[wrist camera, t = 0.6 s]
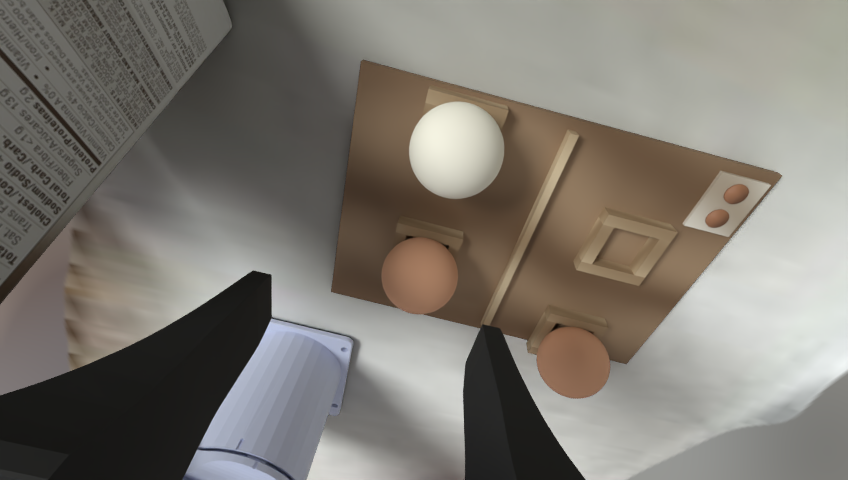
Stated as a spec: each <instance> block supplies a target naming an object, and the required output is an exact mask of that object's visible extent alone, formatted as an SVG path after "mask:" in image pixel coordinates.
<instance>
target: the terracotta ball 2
mask: <svg viewBox="0 0 848 480" xmlns="http://www.w3.org/2000/svg"><path fill="white" fill-rule="evenodd" d="M537 366H538V370H539V373H540V375H541V377H542V379H543V380H544V382H545V383H546V384H547V385H548V386H549V387H550V388H551V389H552V390H553V391H555V392H557V393H558V394H560V395H562V396H565V397H569V398H577V399H578V398H586V397H589V396H592V395H594V394H595V393H597V392H598V391H599V390H601V389H602V387H603V386H604V385H605V383H606V381H607V379H608V377H609V373H610V360H609V356H608V353H607V351H606V348H605V347H604V345H603V344H602V342H601V341H600V340H599V339H598V338H597V337H596V336H594V335H593V334H592V333H590V332H588V331H586V330H584V329H581V328H577V327H561V328H558V329H555V330H553V331H552V332H550V333H549V334H548V335H546V336H545V338H544V339H543V340H542V341H541V343H540V345H539V348H538V352H537Z"/></svg>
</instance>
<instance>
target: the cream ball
mask: <svg viewBox="0 0 848 480" xmlns="http://www.w3.org/2000/svg"><path fill="white" fill-rule="evenodd" d="M409 157H410V163H411V167H412V169H413V172H414V174H415V175H416V177H417V179H418V180H419V181H420V183H421V184H422V185H423V186H424V187H425V188H427V189H428V190H429V191H431V192H432V193H434V194H436V195H438V196H441V197H444V198H449V199H462V198H467V197H471V196H473V195H476V194H478V193H480V192H481V191H483V190H484V189H485V188H487V187H488V186H489V185H490V184H491V183H492V182H493V180H494V179H495V178H496V176H497V175H498V173H499V171H500V168H501V166H502V162H503V158H504V140H503V136H502V133H501V131H500V128H499V126H498V125H497V123H496V121H495V120H494V119H493V118H492V116H491V115H490V114H488V113H487V112H486V111H485V110H483V109H482V108H480V107H478V106H476V105H474V104H471V103H467V102H449V103H444V104H442V105H439V106H437V107H435V108H433V109H431V110H430V111H429V112H427V113H426V114H425V115H424V116H423V117H422V118H421V119H420V121H419V122H418V124H417V125H416V127H415V128H414V131H413V133H412V136H411V139H410V145H409Z"/></svg>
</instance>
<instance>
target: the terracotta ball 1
mask: <svg viewBox="0 0 848 480" xmlns="http://www.w3.org/2000/svg"><path fill="white" fill-rule="evenodd" d="M381 277H382V285H383V288H384V291H385V293H386V295H387V297H388V298H389V299H390V301H391V302H392V303H393V304H394V305H395V306H397V307H398V308H400V309H401V310H403V311H406V312H408V313H412V314H427V313H431V312H434V311H436V310H438V309H440V308H441V307H443V306H444V305H445V304H446V303H447V302H448V301H449V300H450V299H451V297H452V296H453V294H454V292H455V289H456V286H457V282H458V269H457V265H456V262H455V260H454V258H453V256H452V254H451V253H450V252H449V250H448V249H447V248H446V247H445V246H443V245H442V244H441V243H439V242H437V241H435V240H432V239H429V238H423V237H416V238H410V239H407V240H405V241H402V242H401V243H399V244H397V245H396V246H395V247H394V248H393V249H392V250H391V251H390V252H389V254H388V255H387V257H386V259H385V261H384V263H383V267H382V273H381Z"/></svg>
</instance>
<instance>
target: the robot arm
mask: <svg viewBox="0 0 848 480" xmlns="http://www.w3.org/2000/svg"><path fill="white" fill-rule="evenodd" d="M271 318H272V303H271V275H270V274H266V273H261V272H257V271H252V272H250V273H249V274H247V275H246V276H244V277H243V278H241V279H240V280H238V281H237V282H235V283H234V284H233V285H231V286H230V287H228V288H227V289H225V290H224V291H222V292H221V293H219V294H218V295H217V296H215V297H213V298H212V299H210V300H209V301H207V302H206V303H204V304H203V305H201V306H200V307H198V308H197V309H195V310H193V311H192V312H190V313H188V314H187V315H185V316H183V317H182V318H180V319H178V320H177V321H175V322H173V323H172V324H170V325H168V326H166V327H165V328H163V329H161V330H159V331H157V332H156V333H154V334H152V335H150V336H148V337H146V338H144V339H142V340H140V341H138V342H136V343H134V344H132V345H130V346H128V347H126V348H124V349H122V350H119V351H117V352H115V353H113V354H110V355H108V356H106V357H103V358H101V359H99V360H97V361H94V362H92V363H90V364H87V365H85V366H83V367H80V368H77V369H75V370H72V371H70V372H67V373H65V374H62V375H59V376H57V377H54V378H51V379H49V380H46V381H43V382H40V383H37V384H35V385H31V386H28V387H26V388H23V389H19V390H16V391H13V392H10V393H7V394H4V395H0V480H307V477H308V474H309V471H310V468H311V465H312V462H313V459H314V456H315V453H316V450H317V447H318V444H319V441H320V438H321V435H322V432H323V429H324V426H325V423H326V420H327V417H328V414H329V415H333V416H336V415H339V413H340V410H341V404H342V399H343V394H344V389H345V384H346V379H347V373H348V368H349V363H350V358H351V353H352V347H353V340H352V339H351V338H349V337H346V336H342V335H338V334H334V333H329V332H325V331H321V330H317V329H313V328H309V327H304V326H300V325H296V324H292V323H288V322H284V321H280V320H275V319H271ZM344 347H345V348H344ZM463 404H464V435H465V480H585V478H584V477H583V476H582V474H581V473H580V472H579V470H578V469H577V468H576V466H575V465H574V464H573V462H572V461H571V460H570V458H569V457H568V456H567V454H566V453H565V451H564V450H563V448H562V447H561V445H560V444H559V442H558V441H557V439H556V438H555V436H554V435H553V433H552V432H551V430H550V428H549V427H548V425H547V423H546V422H545V420H544V418H543V417H542V415H541V413H540V411H539V410H538V408H537V406H536V404H535V402H534V400H533V399H532V397H531V395H530V393H529V391H528V389H527V387H526V385H525V383H524V381H523V379H522V377H521V375H520V373H519V370H518V368H517V366H516V364H515V362H514V359H513V357H512V355H511V352H510V350H509V348H508V345H507V343H506V340H505V338H504V335H503V333H502V331H501V329H500V328H497V327H493V326H489V325H484V324H482V326H481V328H480V331H479V333H478V335H477V338H476V340H475V342H474V345H473V347H472V349H471V352H470V354H469V356H468V359H467V361H466V365H465V376H464V388H463Z"/></svg>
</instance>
